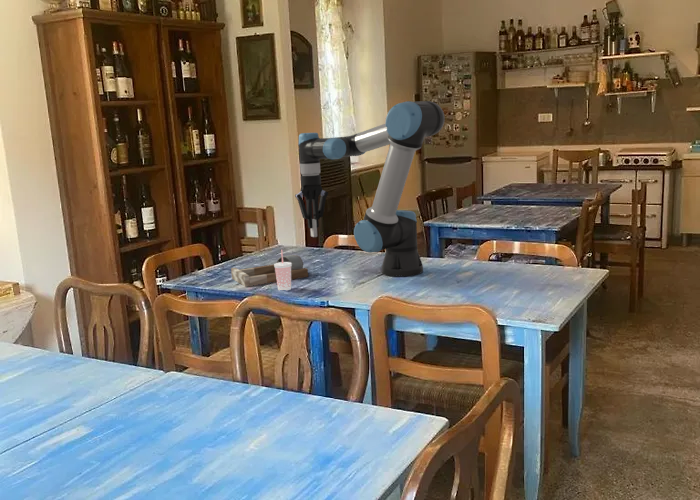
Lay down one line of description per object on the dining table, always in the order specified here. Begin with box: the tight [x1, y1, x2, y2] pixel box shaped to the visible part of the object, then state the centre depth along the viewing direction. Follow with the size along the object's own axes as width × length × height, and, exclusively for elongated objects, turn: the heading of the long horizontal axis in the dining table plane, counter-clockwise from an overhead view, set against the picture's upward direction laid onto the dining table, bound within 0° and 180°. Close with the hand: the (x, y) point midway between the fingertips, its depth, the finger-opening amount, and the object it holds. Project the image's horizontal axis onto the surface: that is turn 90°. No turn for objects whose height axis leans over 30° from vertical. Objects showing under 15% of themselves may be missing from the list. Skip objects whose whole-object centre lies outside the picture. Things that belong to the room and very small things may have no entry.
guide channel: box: [230, 263, 309, 288], centre depth 266 cm, size 16×24×4 cm, turn 116°
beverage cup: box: [274, 249, 292, 291], centre depth 247 cm, size 6×6×14 cm
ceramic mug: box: [275, 254, 304, 273], centre depth 269 cm, size 11×8×8 cm
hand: (314, 236), depth 272 cm, fingers closed
